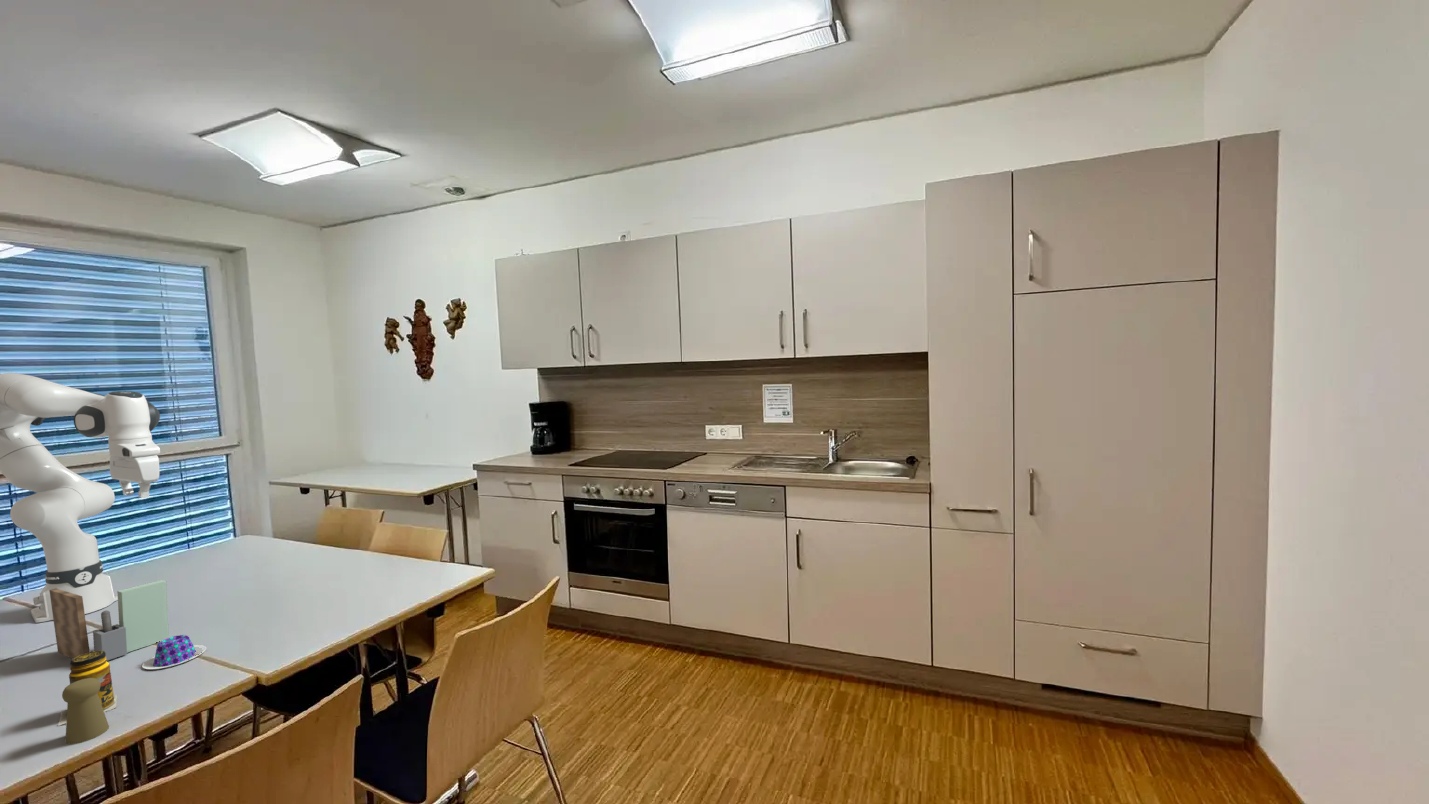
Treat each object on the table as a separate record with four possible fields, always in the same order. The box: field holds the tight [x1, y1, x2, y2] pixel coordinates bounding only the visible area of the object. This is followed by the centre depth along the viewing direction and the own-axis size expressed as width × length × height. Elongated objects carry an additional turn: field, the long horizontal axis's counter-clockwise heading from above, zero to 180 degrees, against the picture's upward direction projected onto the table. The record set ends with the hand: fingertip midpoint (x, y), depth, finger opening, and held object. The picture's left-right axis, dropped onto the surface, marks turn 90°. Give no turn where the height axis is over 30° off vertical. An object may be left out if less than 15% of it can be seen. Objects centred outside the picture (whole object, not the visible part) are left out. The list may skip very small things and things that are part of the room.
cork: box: [61, 678, 110, 745], centre depth 117 cm, size 6×6×11 cm
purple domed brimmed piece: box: [141, 634, 207, 670], centre depth 148 cm, size 12×12×5 cm
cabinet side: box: [49, 588, 121, 662], centre depth 152 cm, size 20×5×17 cm, turn 64°
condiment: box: [57, 650, 118, 727], centre depth 126 cm, size 7×8×12 cm
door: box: [92, 579, 170, 662], centre depth 154 cm, size 5×14×16 cm, turn 154°
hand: (136, 496), depth 168 cm, fingers open, 8 cm apart
